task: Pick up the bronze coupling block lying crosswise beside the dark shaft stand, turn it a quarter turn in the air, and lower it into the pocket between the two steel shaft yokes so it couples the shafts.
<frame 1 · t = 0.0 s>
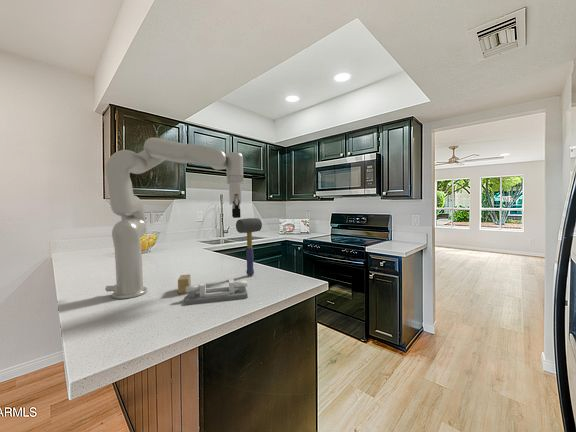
hand: (236, 217, 118), 31 cm above the worktop, tool pointing down, fingers open, 9 cm apart
rubber mallet: (250, 276, 133), on the worktop
shaft stand: (217, 296, 103), on the worktop
coupler: (184, 290, 111), on the worktop
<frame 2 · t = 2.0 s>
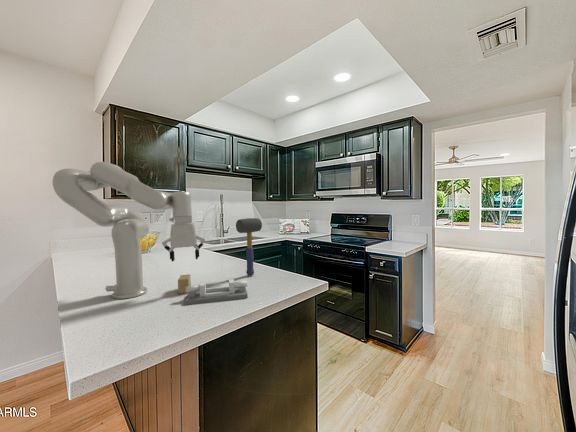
hand: (185, 259, 111), 14 cm above the worktop, tool pointing down, fingers open, 9 cm apart
nothing on the worktop moved.
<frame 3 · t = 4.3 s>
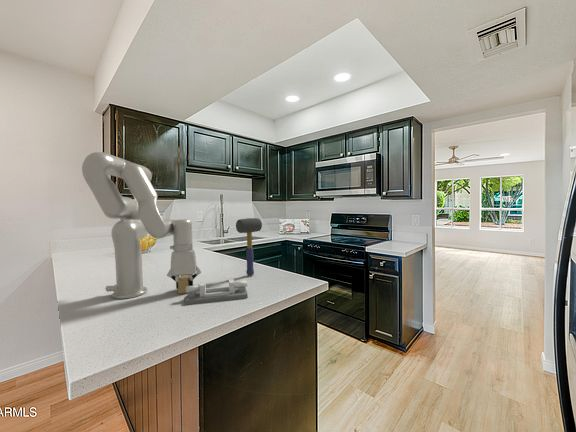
hand: (184, 289, 111), 1 cm above the worktop, tool pointing down, fingers closed on coupler, 3 cm apart
coupler: (184, 290, 111), on the worktop, touching gripper
everything else where it was.
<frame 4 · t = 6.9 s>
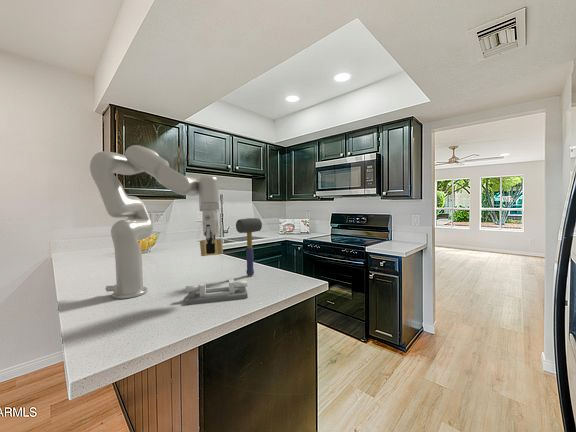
hand: (211, 252, 104), 18 cm above the worktop, tool pointing down, fingers closed on coupler, 4 cm apart
coupler: (212, 254, 104), point 17 cm above the worktop, touching gripper
everything else where it was.
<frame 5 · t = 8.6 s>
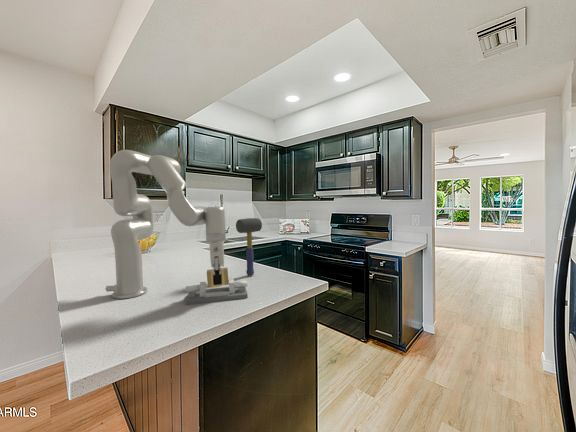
hand: (217, 282, 103), 6 cm above the worktop, tool pointing down, fingers closed on coupler, 4 cm apart
coupler: (218, 284, 103), point 5 cm above the worktop, touching gripper
everything else where it was.
when the fingers open (4 cm above the worktop, at t = 10.0 s): coupler drops 1 cm, resting on shaft stand.
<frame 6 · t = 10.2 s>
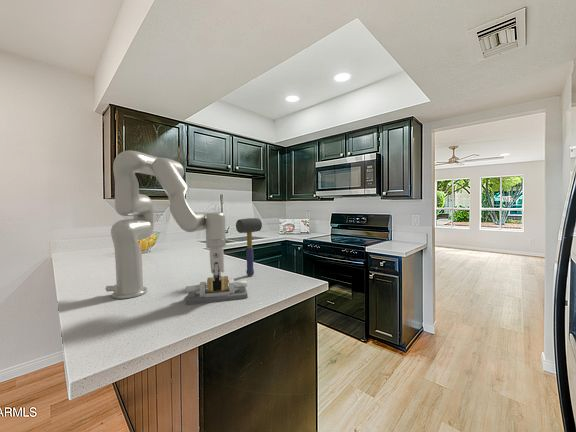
hand: (217, 287, 103), 4 cm above the worktop, tool pointing down, fingers open, 5 cm apart
coupler: (218, 292, 103), point 1 cm above the worktop, touching shaft stand
everything else where it was.
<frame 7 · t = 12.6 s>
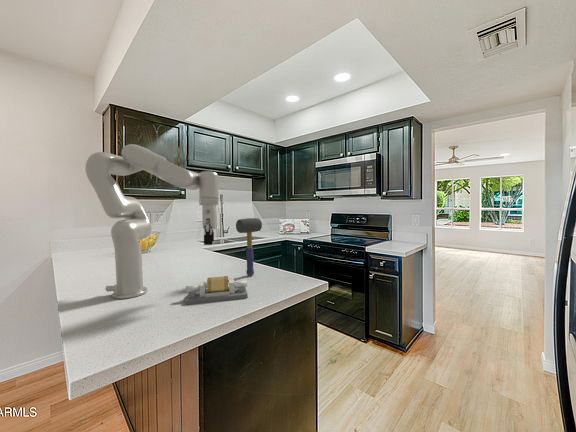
hand: (209, 243, 106), 21 cm above the worktop, tool pointing down, fingers open, 9 cm apart
nothing on the worktop moved.
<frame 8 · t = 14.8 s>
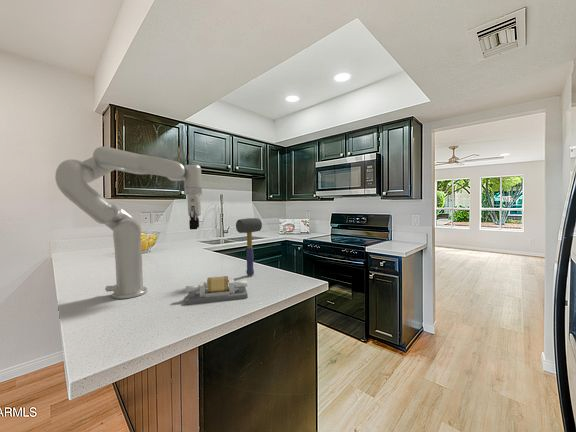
hand: (194, 228, 120), 26 cm above the worktop, tool pointing down, fingers open, 9 cm apart
nothing on the worktop moved.
at the end: coupler 0.2 cm off-centre on the shaft stand, point 1.5 cm above the shaft stand's base; coupler tilted 0°; the gripper is holding nothing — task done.
